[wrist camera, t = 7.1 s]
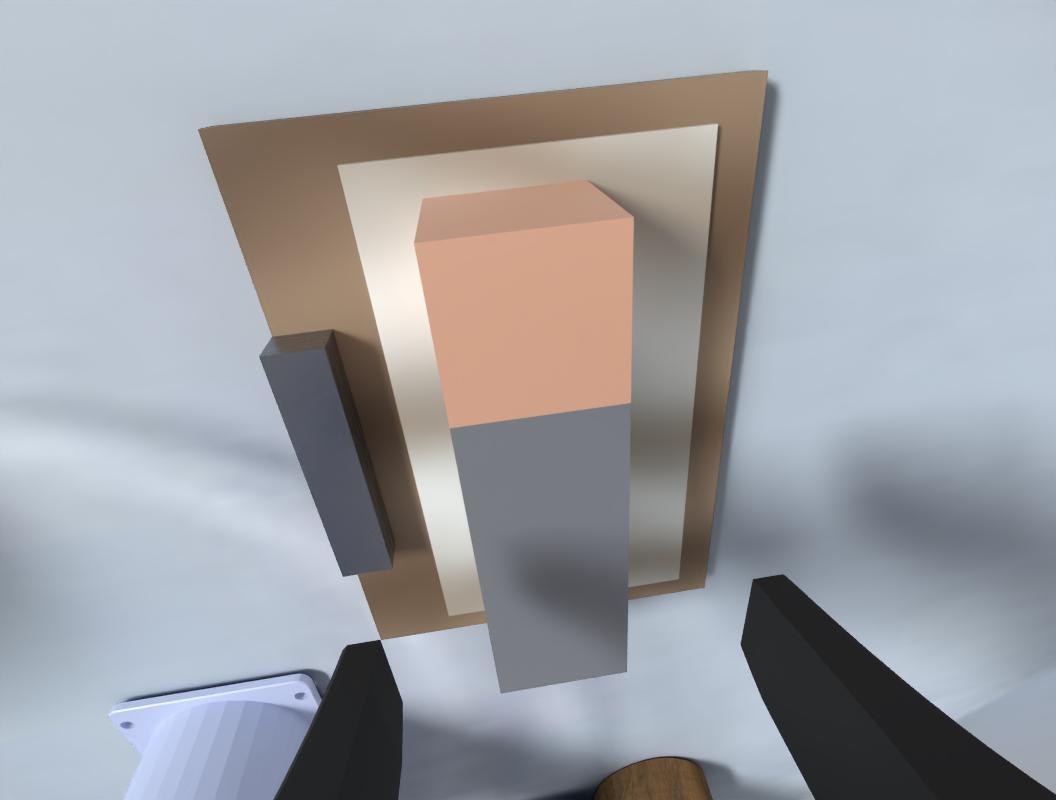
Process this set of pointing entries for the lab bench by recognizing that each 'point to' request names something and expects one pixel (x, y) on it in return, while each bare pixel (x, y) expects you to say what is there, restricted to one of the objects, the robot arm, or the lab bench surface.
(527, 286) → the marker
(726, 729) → the lab bench surface
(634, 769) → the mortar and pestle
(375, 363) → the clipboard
